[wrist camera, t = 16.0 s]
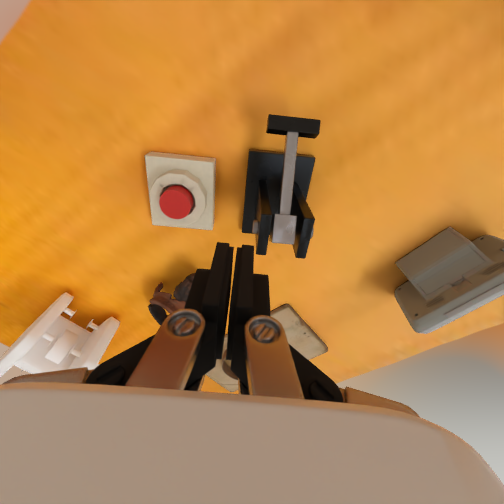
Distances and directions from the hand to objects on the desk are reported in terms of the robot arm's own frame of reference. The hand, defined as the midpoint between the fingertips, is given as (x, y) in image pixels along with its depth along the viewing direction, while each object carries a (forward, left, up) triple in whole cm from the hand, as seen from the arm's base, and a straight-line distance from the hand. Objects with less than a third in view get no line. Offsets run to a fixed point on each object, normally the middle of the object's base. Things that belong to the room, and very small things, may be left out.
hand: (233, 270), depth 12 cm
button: (+5, -8, -20) cm, 22 cm away
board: (+37, +5, -24) cm, 45 cm away
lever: (+1, +4, -17) cm, 18 cm away
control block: (+5, -8, -24) cm, 26 cm away
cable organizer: (+31, -28, -24) cm, 48 cm away
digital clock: (+13, +30, -24) cm, 41 cm away
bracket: (+4, +4, -24) cm, 25 cm away
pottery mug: (+22, -7, -24) cm, 33 cm away
